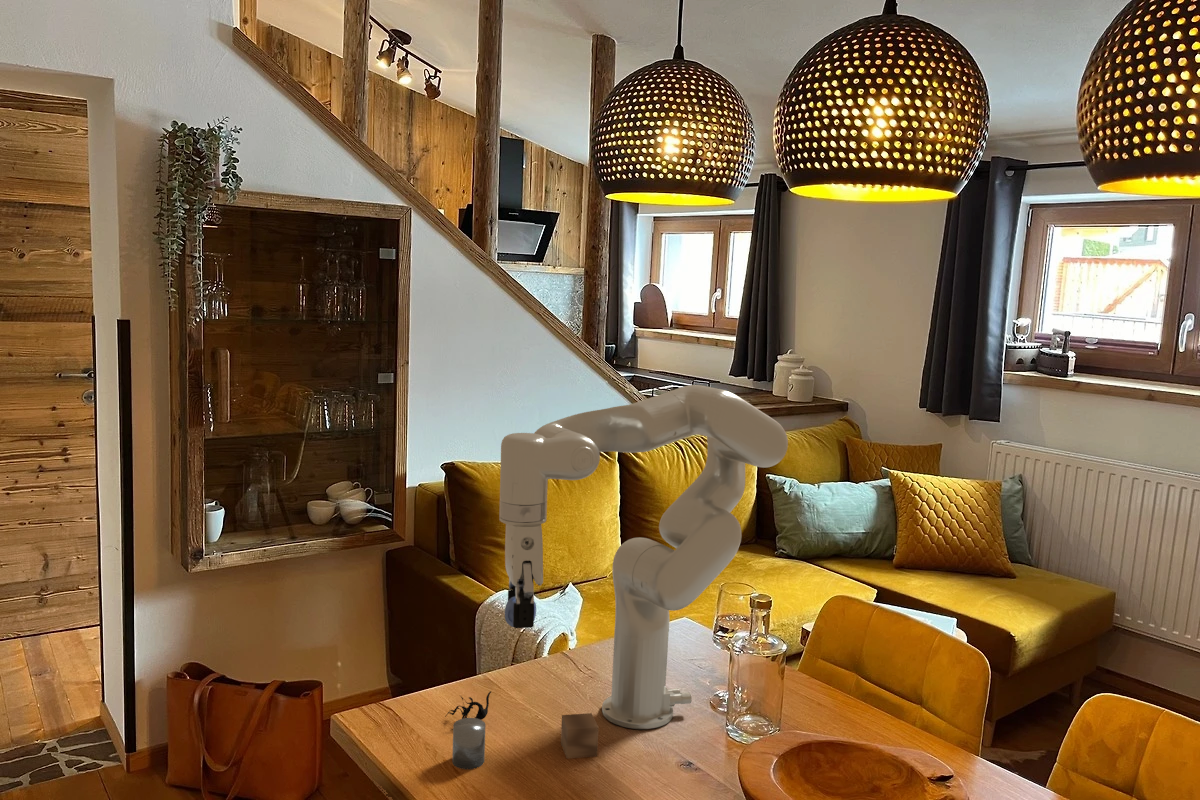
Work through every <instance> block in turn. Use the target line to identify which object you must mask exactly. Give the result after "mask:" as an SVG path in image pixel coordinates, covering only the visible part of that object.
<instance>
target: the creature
mask: <svg viewBox="0 0 1200 800" xmlns="http://www.w3.org/2000/svg"><path fill="white" fill-rule="evenodd" d="M491 693H492V691H491V690H490V691H489V692H488V693H487V695H486V699H485V701H486V704H485V708H484V707H483V704H481V702H478V701H474V700H473V698H472V697H470V696H468V699H469V700H470V701H471V702H467V701H465V703H466V705H468V707H466V706H465V704H464V702H462V703H463V705H457V706H456V707H455V708H454V709H451V710H450V709H449V710H448V712H447V714H445V716H444V718H446V717H447V716H448V715H449V714H450V715H452V716H454V715H455V713H456V712H457V710H460V712H461V715H462V717H461V719H463V718H467V717H468V714H470V712H471V709H474V706H477V707H478V710H477V713H476V716H475V715H472V716H470V718H477V719H480V720H482V721H483V719H485V718H486V717H487V716H488V712H489V704H490V700H489V699H490V695H491ZM460 698H461V700H462V701H464V697H463V696H460ZM460 707H461V708H462V709H461V708H460ZM450 729H451V730H450V731H453V728H450Z"/></svg>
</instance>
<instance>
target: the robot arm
mask: <svg viewBox="0 0 1200 800" xmlns="http://www.w3.org/2000/svg"><path fill="white" fill-rule="evenodd" d="M696 435H700V436H704V437H706V439H707V440H706V443H707V455H706V462H705V466H704V468H703V469H702V472H700V474H699V475H698V476H697V478H696V479H695V480H694V481H693V482H692V483H691V484H690V485H689V486H688V487H687V489H685V490H684V491H683V492H682V493H681V495H680V496H678V497H677V498H676V499H675V501H674V502H672V504H670V505H669V506H668V508H667V509H666V510H665V512H663V514H662V516H661V518H660V520H659V524H658V530H659V531H658V532H659V534H660V536H661V538H662V539H663V540H664V541H665V542H666V543H668V544H669V546H672V547H674V548H675V549H672V548H670V547H669V546H666V545H665V544H663V543H660V542H658V541H656V540H653V539H651V538H647V537H633V538H629V539H627V540H626V541H624V542H623V543H622V544H620V546H619V547H618V548H617V549H616V551H615V555H614V557H613V560H612V579H613V580H612V582H613V587H614V597H615V598H614V599H615V616H614V617H615V619H614V620H615V622H614V635H613V637H614V640H613V655H612V656H613V657H612V662H613V663H612V678H611V694H610V696H608V697H607V698H606V699H604V700H603V701H602V705H601V706H602V707H601V713H602V715H603V716H604V718H605V719H606V720H607V721H609V722H611V723H612V724H614V725H617V726H619V727H623V728H627V729H633V730H634V729H635V730H649V729H655V728H660V727H662V726H665V725H667V724H669V723H670V721H671V720H672V719H673V715H674V707H675V705H679V704H680V705H690V704H692V701H693V699H692V694H691V692H681V690H680V688H679V687H678V688H669V689H668V688H667V686H666V684H667V670H668V669H667V665H668V651H669V650H668V649H669V634H670V633H669V632H670V612H671V611H680V610H682V609H684V608H687V607H688V606H689V605H690V604H692V603H693V602H694V601H695V600H696V599H698V598H699V596H701V594H703V592H704V591H705V590H706V589H707V588H708V587H709V586H710V585H711V584H712V583H713V582H714V580H715V579H716V578H718V576H719V575H720V574H721V573H722V572H723V571H724V570H725V568H727V567H728V565H730V563H731V562H732V560H733V559H734V558H735V556H736V555H737V553H738V551H739V547H740V545H741V542H742V528H741V524H740V522H739V520H738V518H737V517H735V515H734V514H733V513H731V512H732V511H733V510H734V508H735V507H736V506H737V505H738V503H739V502H740V501H741V500H742V498H743V495H744V491H745V488H746V464H747V465H750V466H753V467H758V468H763V469H764V468H766V469H767V468H770V467H774V466H776V465H777V464H779V463H780V462H781V461H782V460H783V459H784V458H785V456H786V454H787V451H788V446H789V440H788V435H787V433H786V430H785V429H784V427H783V426H782V424H780V423H779V422H778V421H777V420H776V419H774V418H772V417H771V416H769V415H768V414H766V413H765V412H763V411H761V410H760V409H758V408H757V407H756V406H754V405H752V404H751V403H749V402H747V401H746V400H745V399H743V398H741V397H740V396H738V395H737V394H735V393H733V392H731V391H728V390H727V389H722V388H717V387H713V386H708V385H704V384H703V385H702V384H688V385H684V386H681V387H679V388H676V389H673V390H670V391H667V392H664V393H661V394H658V395H655V396H652V397H649V398H646V399H643V400H639V401H637V402H633V403H631V404H626V405H616V406H612V407H607V408H602V409H595V410H590V411H585V412H580V413H575V414H572V415H570V416H566V417H562V418H560V419H557V420H555V421H551V422H549V423H545V424H544V425H542V426H541V427H539V428H538V429H536V430H535V431H534V432H514V433H509V434H507V435H505V436H504V437H503V439H502V440H501V444H500V473H499V474H500V476H499V477H500V481H499V482H500V483H499V522H501V523H503V524H505V534H504V535H505V536H504V537H505V541H504V543H505V544H504V562H505V563H504V564H505V565H504V566H505V571H506V574H507V577H508V590H507V601H508V600H509V599H510V598H512V597H515V596H516V603H514V612H513V626H514V627H513V628H514V629H528V628H529V629H530V628H533V627H534V625H535V624H534V623H535V620H534V602H535V598H534V597H535V595H534V594H535V593H534V591H535V590H534V585H535V584H536V585H538V586H542V584H543V583H544V554H543V553H544V549H543V548H544V545H543V542H544V541H543V529H542V524H544V523H546V522H547V512H548V510H547V509H548V480H551V479H553V480H566V481H567V480H568V481H578V480H582V479H586V478H588V477H590V476H591V475H592V474H593V473H594V472H595V471H596V470H597V468H598V466H599V463H600V460H601V457H600V456H601V454H600V453H604V452H616V453H629V454H630V453H631V454H632V453H633V454H634V453H646V452H651V451H653V450H656V449H658V448H661V447H663V446H666V445H668V444H672V443H674V442H677V441H679V440H684V439H685V438H689V437H692V436H696ZM534 583H535V584H534Z"/></svg>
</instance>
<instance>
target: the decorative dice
mask: <svg viewBox="0 0 1200 800" xmlns="http://www.w3.org/2000/svg"><path fill="white" fill-rule="evenodd" d="M514 603H516V596H515V597H512V598H510V599H509V600H508V599H507V601H506V605H505V609H504V619H505V622H506V624H507V625H509V626H510V627H512V628H514V626H513V612H514ZM536 614H537V603H536V601H534V621H535V619H536V616H537V615H536Z"/></svg>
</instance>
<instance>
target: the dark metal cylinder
mask: <svg viewBox="0 0 1200 800" xmlns="http://www.w3.org/2000/svg"><path fill="white" fill-rule="evenodd" d="M452 729H453V730H452V757H451V758H452V765H453V766H454V767H456V768H458V769H461V770H474V768H475V769H478V768H479V767H481V766H483V765H484V764H485V753H486V752H485V751H486V747H485V746H486V723H485V721H484V720H483V719H482V720H480V719H477V718H475V717H468V718H466V717H464V718H463V719H462V718H460V719H458V720H456V721H455V722H454V723H453V727H452ZM483 763H484V764H483ZM477 767H478V768H477Z"/></svg>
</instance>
